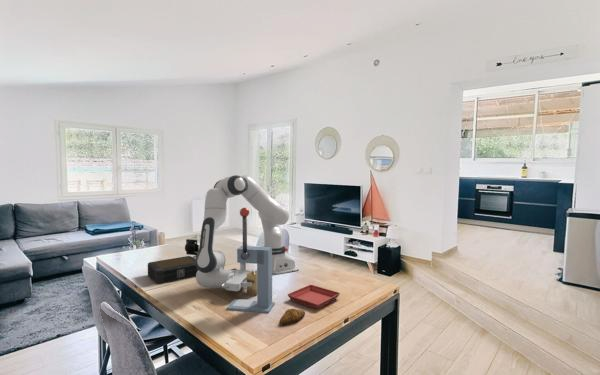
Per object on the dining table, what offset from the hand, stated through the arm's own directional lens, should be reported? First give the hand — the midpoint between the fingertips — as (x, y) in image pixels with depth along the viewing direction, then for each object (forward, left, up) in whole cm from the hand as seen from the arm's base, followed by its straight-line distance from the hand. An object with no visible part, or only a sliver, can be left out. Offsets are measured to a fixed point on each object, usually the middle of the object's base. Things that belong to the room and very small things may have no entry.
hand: (255, 281), depth 162 cm
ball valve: (+24, -65, -6) cm, 70 cm away
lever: (+8, +18, +16) cm, 26 cm away
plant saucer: (-24, +17, -7) cm, 30 cm away
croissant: (-8, +33, -7) cm, 34 cm away
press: (+5, +15, -6) cm, 17 cm away
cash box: (+37, -42, -7) cm, 56 cm away
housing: (+1, 0, -6) cm, 6 cm away
